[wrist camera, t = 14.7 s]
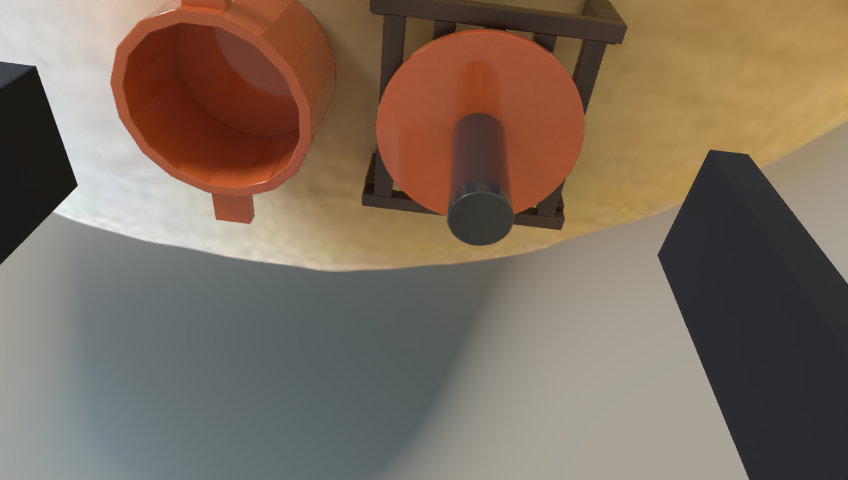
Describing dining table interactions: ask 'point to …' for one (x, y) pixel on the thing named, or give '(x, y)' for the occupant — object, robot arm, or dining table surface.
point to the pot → (225, 94)
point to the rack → (451, 7)
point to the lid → (480, 129)
